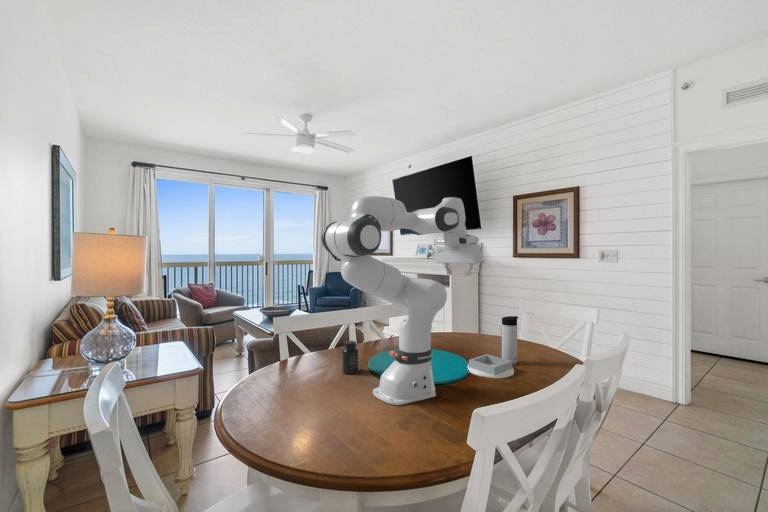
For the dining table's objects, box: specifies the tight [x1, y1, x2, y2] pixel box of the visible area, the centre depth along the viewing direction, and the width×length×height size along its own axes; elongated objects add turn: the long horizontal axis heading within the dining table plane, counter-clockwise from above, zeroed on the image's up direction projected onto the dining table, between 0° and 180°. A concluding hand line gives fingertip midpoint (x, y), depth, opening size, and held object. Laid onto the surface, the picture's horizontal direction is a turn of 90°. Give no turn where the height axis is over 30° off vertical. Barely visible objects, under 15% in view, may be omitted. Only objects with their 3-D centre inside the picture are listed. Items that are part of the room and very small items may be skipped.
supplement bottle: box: [341, 340, 360, 375], centre depth 143 cm, size 7×7×12 cm
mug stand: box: [466, 353, 515, 380], centre depth 143 cm, size 18×18×4 cm
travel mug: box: [501, 315, 519, 366], centre depth 152 cm, size 6×7×20 cm
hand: (458, 274), depth 139 cm, fingers open, 8 cm apart
